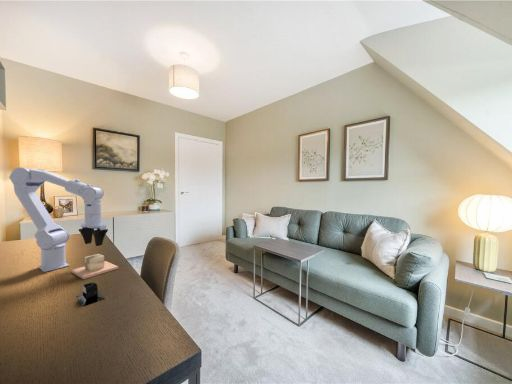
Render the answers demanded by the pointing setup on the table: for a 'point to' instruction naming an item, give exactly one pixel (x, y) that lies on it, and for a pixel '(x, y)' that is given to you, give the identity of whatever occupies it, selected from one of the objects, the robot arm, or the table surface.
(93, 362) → the table surface
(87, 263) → the birch cube
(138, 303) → the table surface
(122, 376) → the table surface
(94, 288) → the black block on base
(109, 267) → the salmon pink board
